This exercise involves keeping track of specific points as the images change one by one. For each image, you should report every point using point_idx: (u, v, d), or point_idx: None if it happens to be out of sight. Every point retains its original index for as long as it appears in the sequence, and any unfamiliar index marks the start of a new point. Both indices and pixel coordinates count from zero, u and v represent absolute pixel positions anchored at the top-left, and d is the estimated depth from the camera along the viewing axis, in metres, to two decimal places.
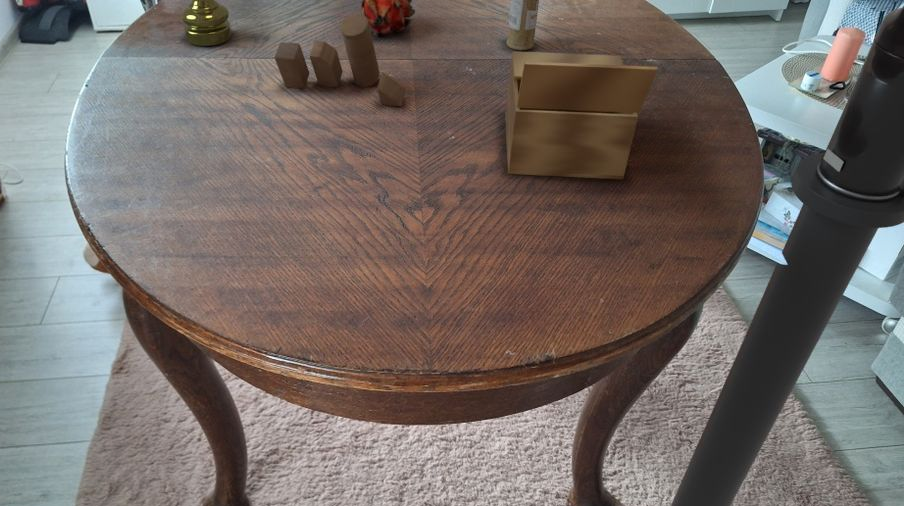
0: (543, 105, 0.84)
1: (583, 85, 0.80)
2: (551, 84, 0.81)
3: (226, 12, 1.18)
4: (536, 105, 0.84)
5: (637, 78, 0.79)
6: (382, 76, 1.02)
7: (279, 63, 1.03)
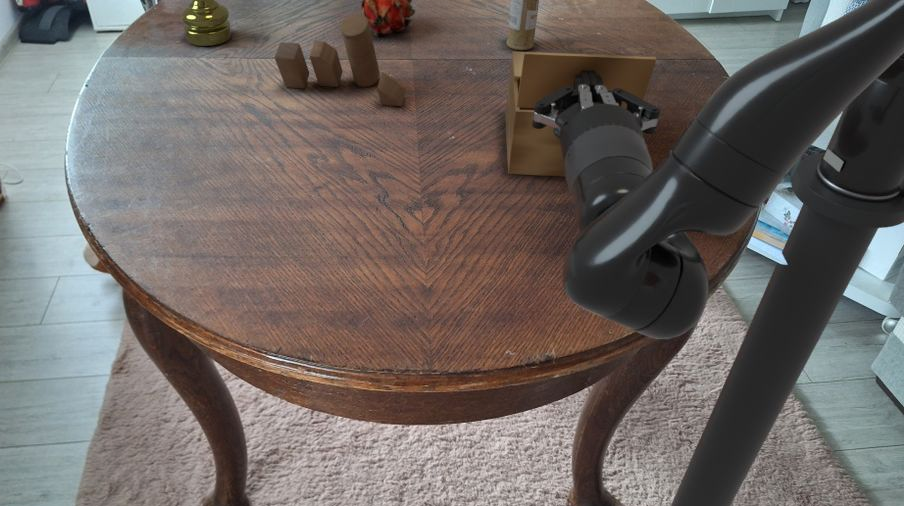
0: None
1: None
2: (551, 78, 0.81)
3: (226, 12, 1.18)
4: None
5: (636, 69, 0.79)
6: (382, 76, 1.02)
7: (280, 63, 1.03)
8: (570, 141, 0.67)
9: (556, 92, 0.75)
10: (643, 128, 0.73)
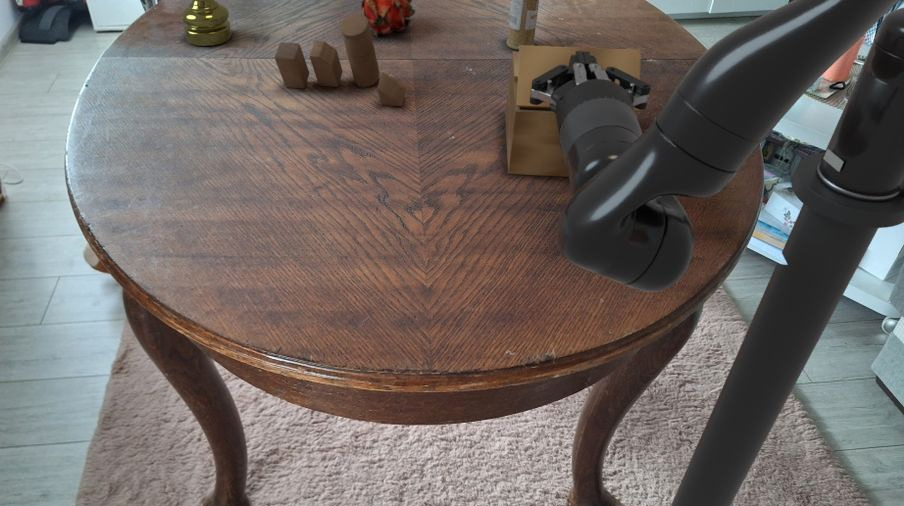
0: (542, 102, 0.84)
1: None
2: (547, 71, 0.85)
3: (226, 12, 1.18)
4: None
5: (625, 61, 0.85)
6: (382, 76, 1.02)
7: (279, 63, 1.03)
8: (565, 114, 0.71)
9: (552, 70, 0.79)
10: (635, 103, 0.77)
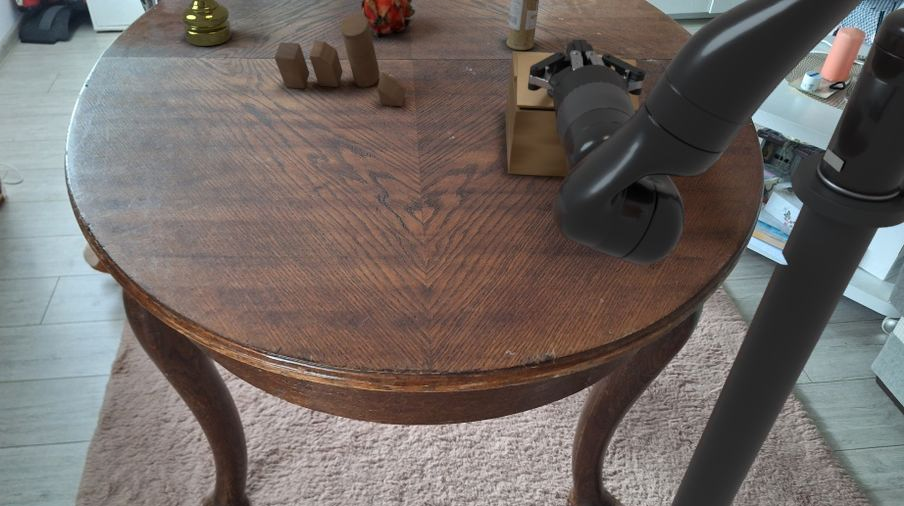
0: (542, 102, 0.85)
1: None
2: None
3: (226, 12, 1.18)
4: (536, 101, 0.85)
5: None
6: (382, 76, 1.02)
7: (279, 63, 1.03)
8: (562, 98, 0.73)
9: (550, 57, 0.82)
10: (629, 89, 0.79)
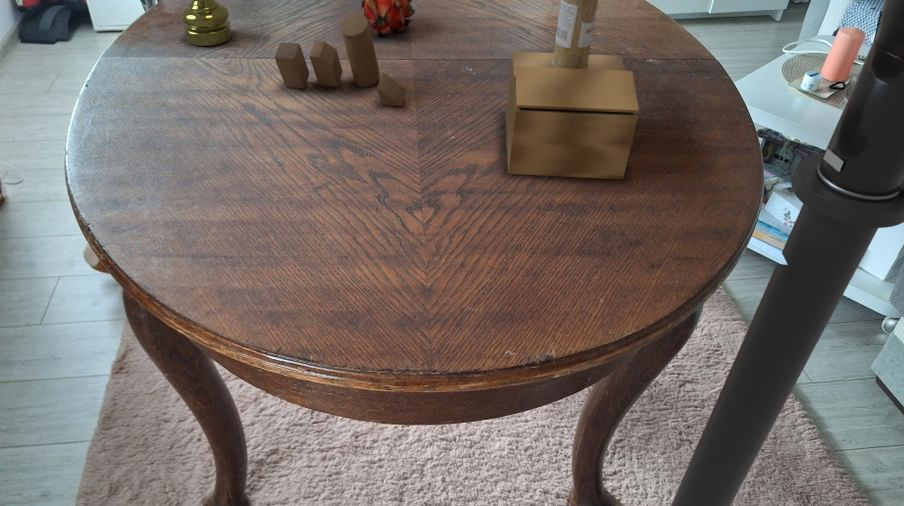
0: (542, 102, 0.85)
1: (574, 83, 0.87)
2: (544, 82, 0.87)
3: (226, 12, 1.18)
4: (536, 102, 0.85)
5: (619, 77, 0.88)
6: (382, 76, 1.02)
7: (280, 63, 1.03)
8: None
9: None
10: None
